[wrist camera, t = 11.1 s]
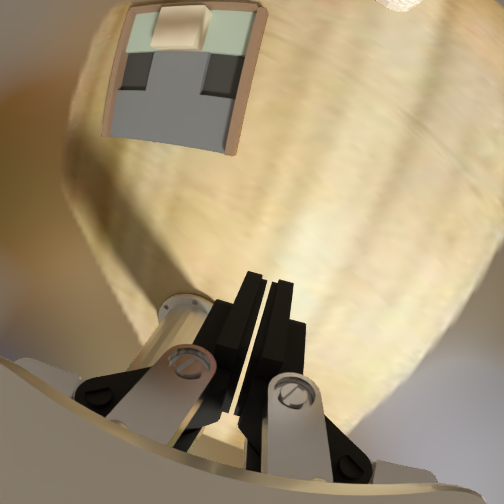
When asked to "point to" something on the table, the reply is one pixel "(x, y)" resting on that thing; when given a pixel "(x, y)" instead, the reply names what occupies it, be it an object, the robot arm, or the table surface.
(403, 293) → the table surface
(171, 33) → the birch block
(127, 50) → the box
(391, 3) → the white cup
